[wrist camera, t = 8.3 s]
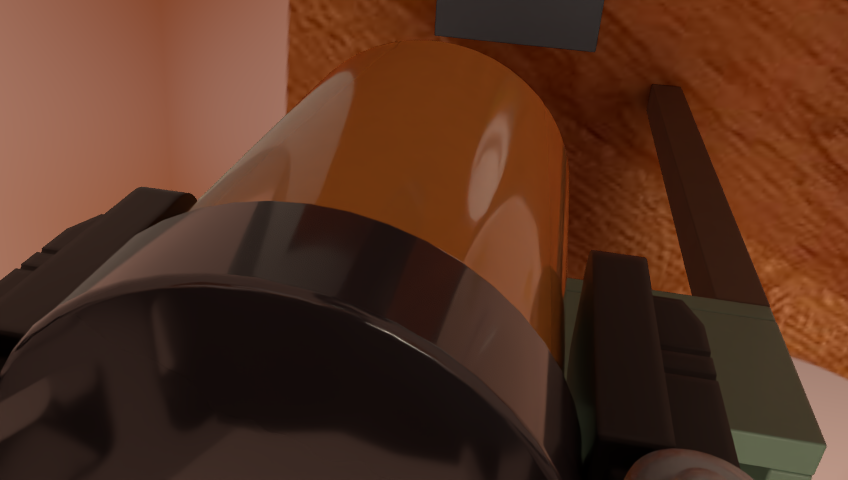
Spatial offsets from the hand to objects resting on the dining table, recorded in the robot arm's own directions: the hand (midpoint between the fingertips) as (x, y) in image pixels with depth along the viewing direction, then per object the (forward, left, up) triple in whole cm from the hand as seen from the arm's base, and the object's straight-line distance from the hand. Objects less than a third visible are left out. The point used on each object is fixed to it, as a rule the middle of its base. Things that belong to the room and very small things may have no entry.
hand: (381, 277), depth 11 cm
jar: (0, 0, -4) cm, 4 cm away
